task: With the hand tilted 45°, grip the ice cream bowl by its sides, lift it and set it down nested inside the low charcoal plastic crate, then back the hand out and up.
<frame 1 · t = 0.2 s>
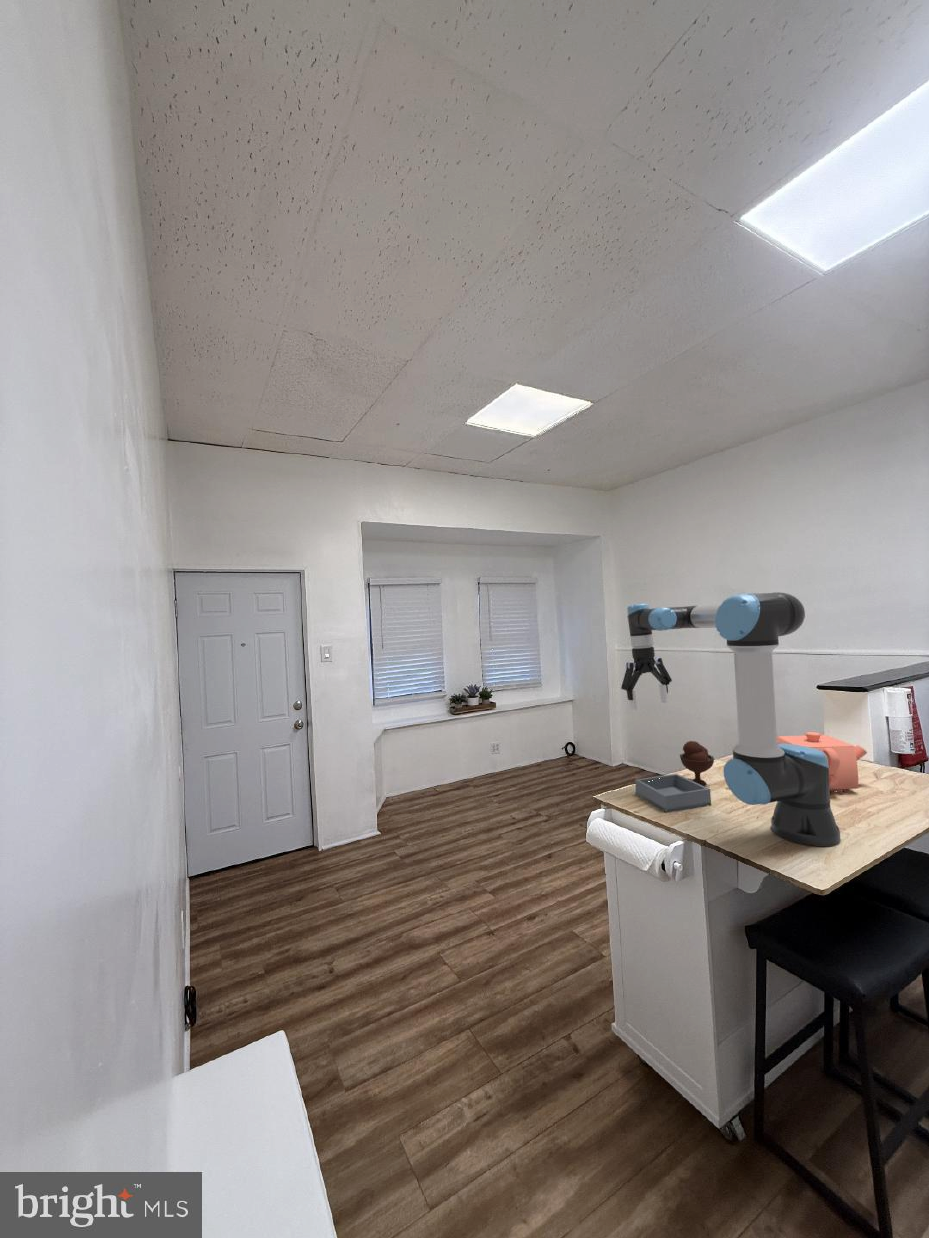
hand: (649, 705, 173), 27 cm above the worktop, tool pointing down, fingers open, 13 cm apart
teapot: (827, 786, 161), on the worktop
ice cream bowl: (698, 784, 169), on the worktop
crate: (672, 799, 157), on the worktop
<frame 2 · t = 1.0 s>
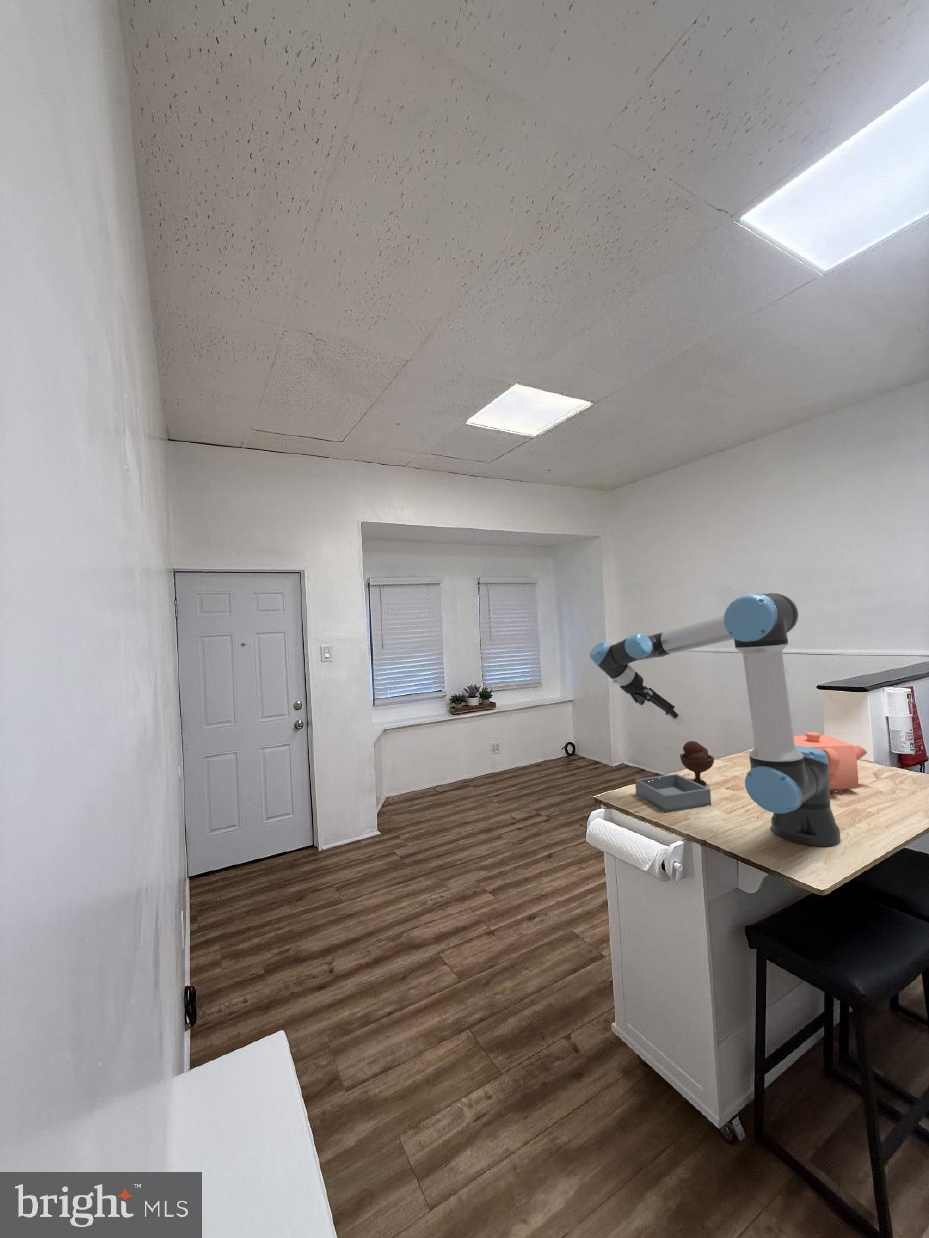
hand: (668, 718, 167), 24 cm above the worktop, tool tilted 45°, fingers open, 13 cm apart
nothing on the worktop moved.
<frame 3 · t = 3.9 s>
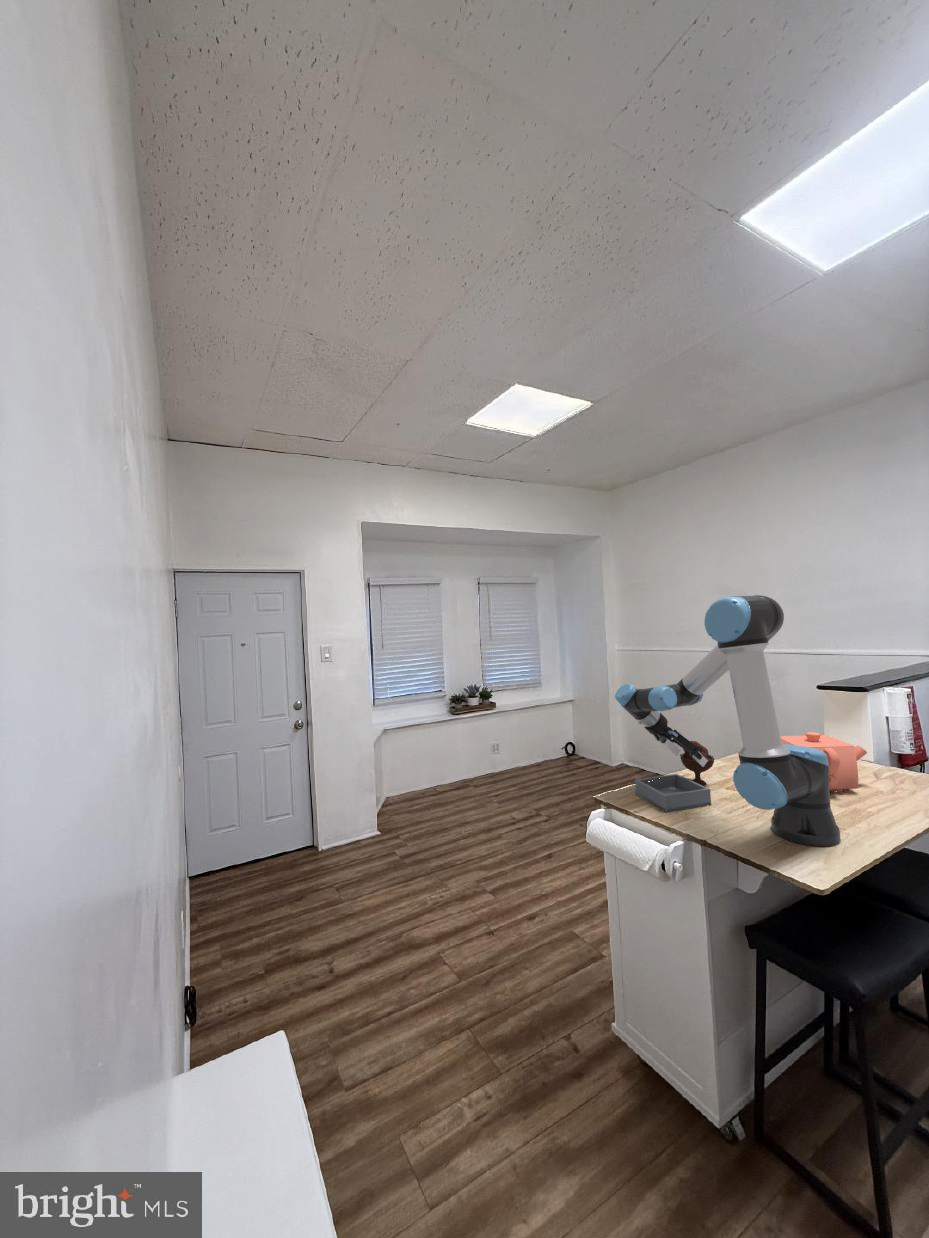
hand: (691, 757, 170), 9 cm above the worktop, tool tilted 45°, fingers open, 13 cm apart
ice cream bowl: (698, 784, 169), on the worktop, touching gripper
everything else where it was.
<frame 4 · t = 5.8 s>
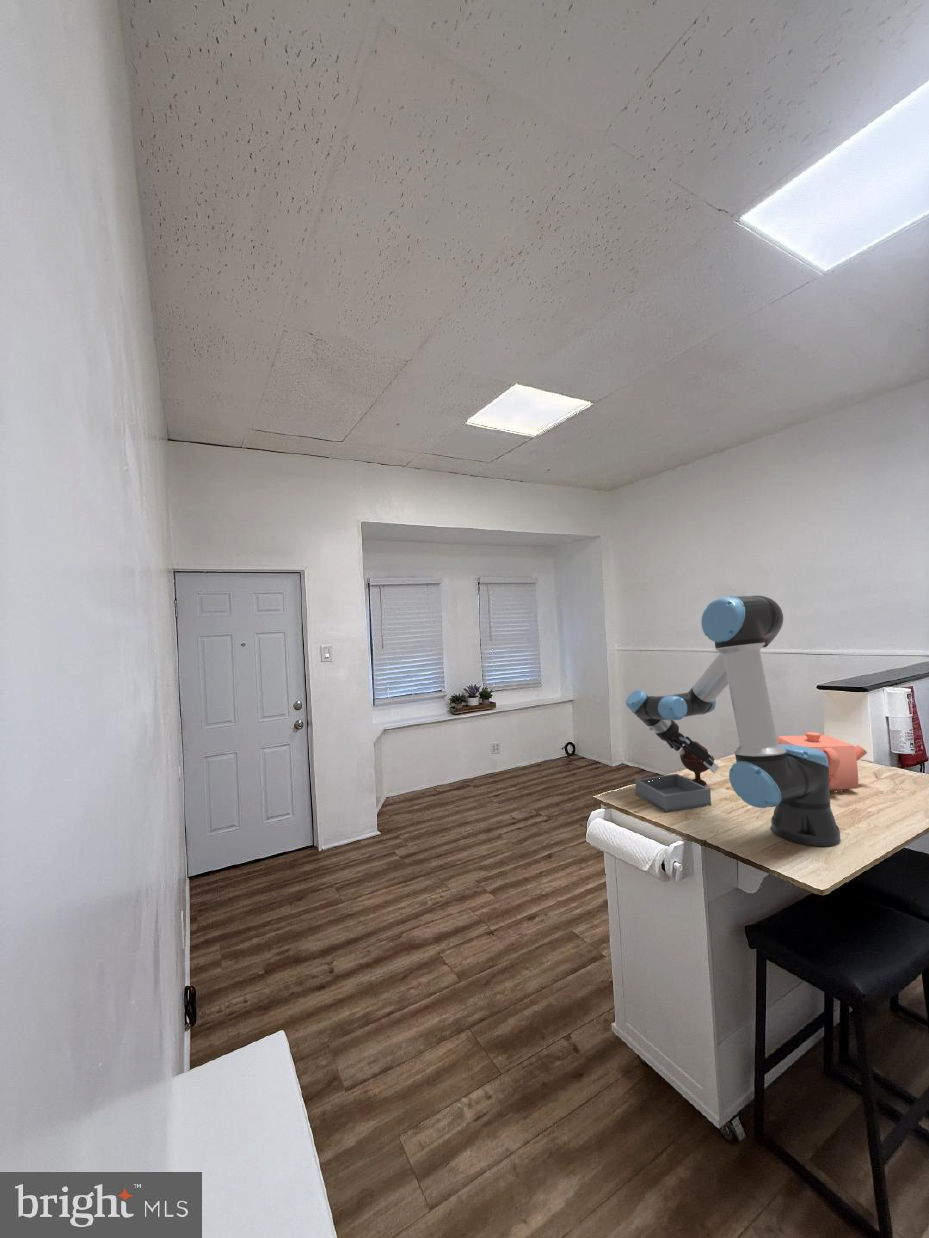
hand: (703, 764, 170), 6 cm above the worktop, tool tilted 45°, fingers closed on ice cream bowl, 11 cm apart
ice cream bowl: (698, 784, 169), on the worktop, touching gripper
everything else where it was.
when the fingers open (9 cm above the worktop, at t = 12.8 s): ice cream bowl drops 1 cm, resting on crate.
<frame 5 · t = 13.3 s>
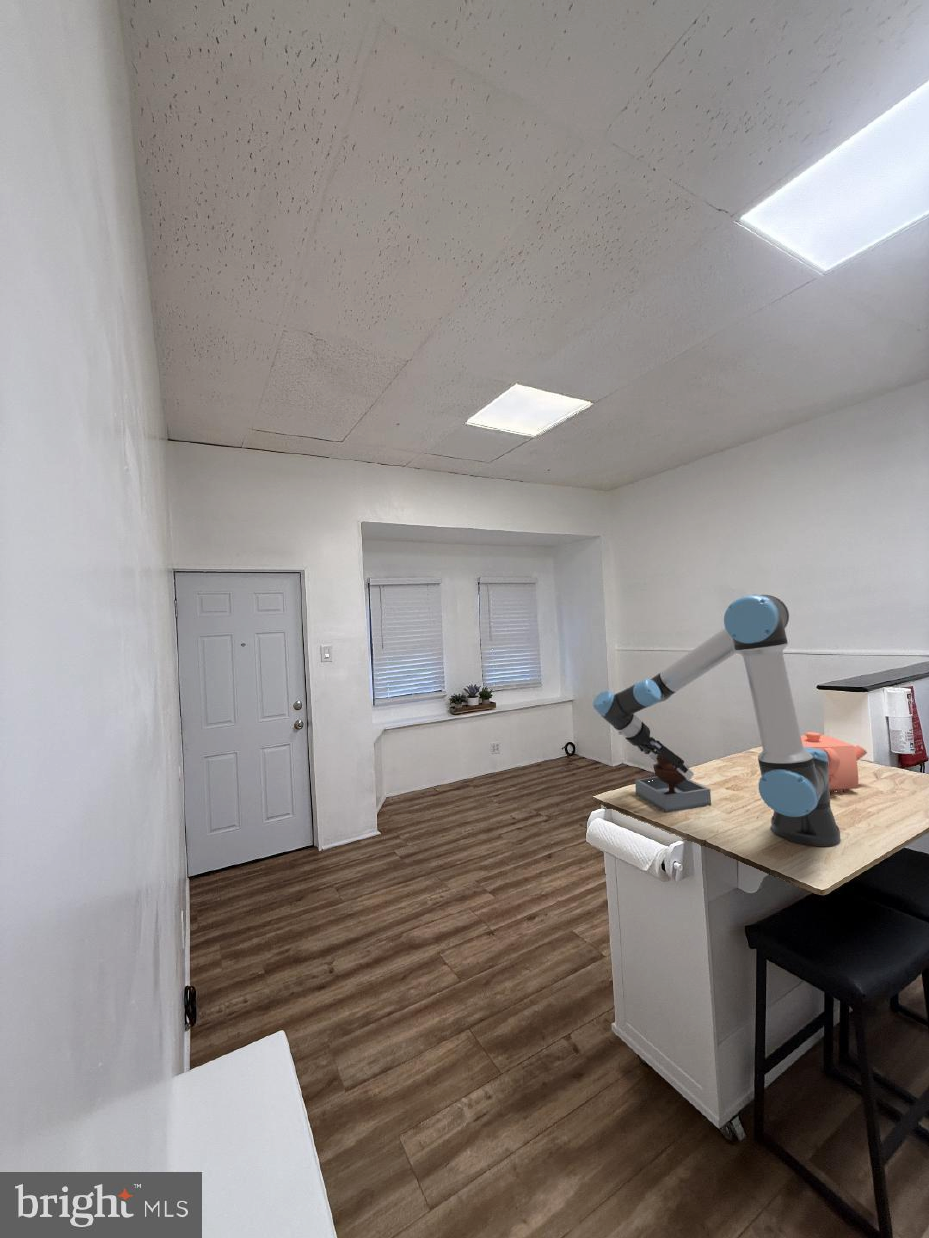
hand: (676, 770, 157), 9 cm above the worktop, tool tilted 45°, fingers open, 13 cm apart
ice cream bowl: (672, 797, 157), point 1 cm above the worktop, touching crate
everything else where it was.
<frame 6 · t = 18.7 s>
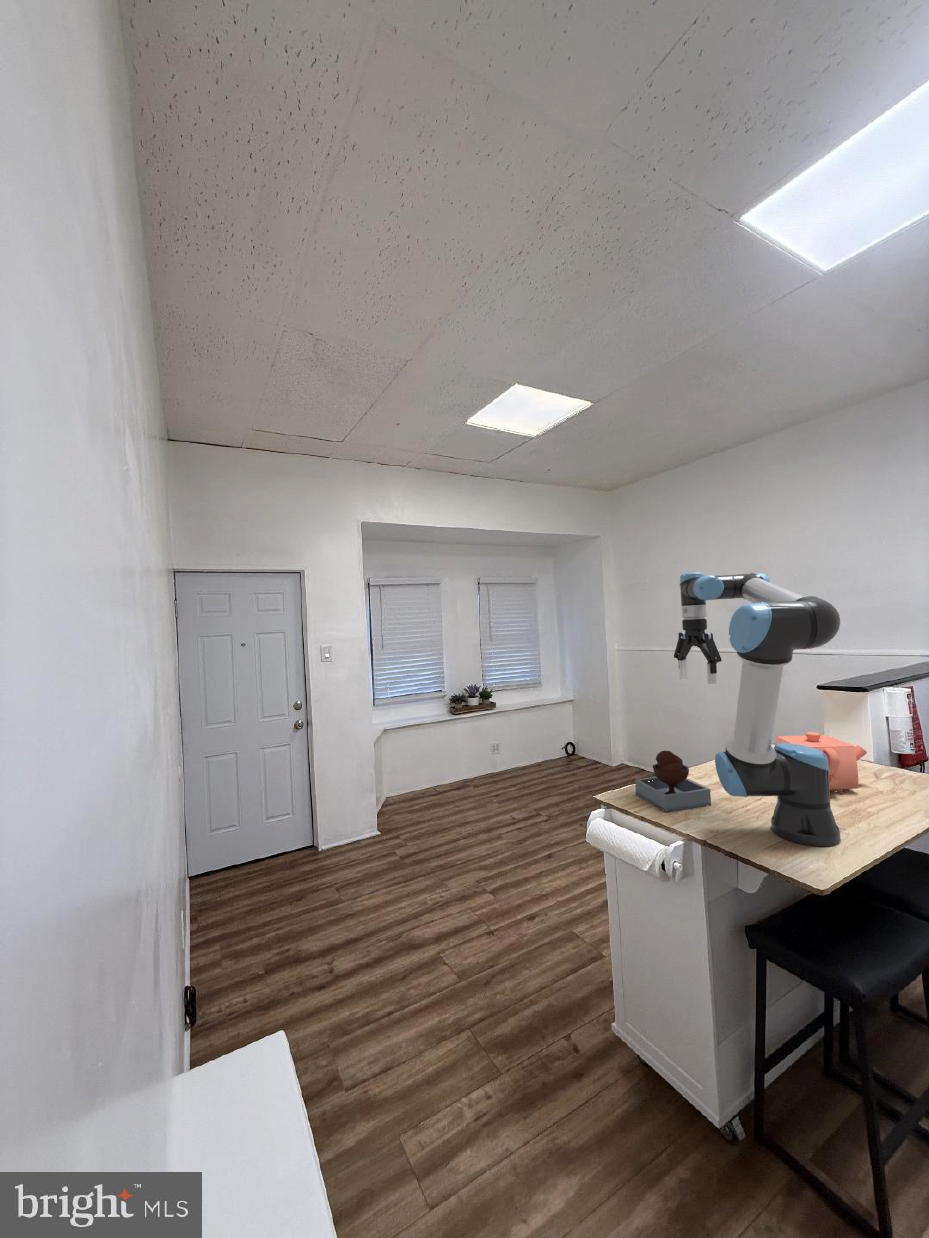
hand: (697, 681, 164), 37 cm above the worktop, tool pointing down, fingers open, 13 cm apart
nothing on the worktop moved.
at the end: ice cream bowl inside the target area on the crate (0.1 cm from its centre), point 0.8 cm above the crate's base; ice cream bowl tilted 0°; the gripper is holding nothing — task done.
